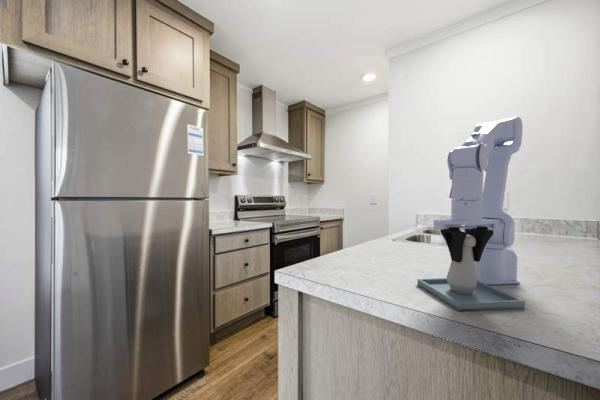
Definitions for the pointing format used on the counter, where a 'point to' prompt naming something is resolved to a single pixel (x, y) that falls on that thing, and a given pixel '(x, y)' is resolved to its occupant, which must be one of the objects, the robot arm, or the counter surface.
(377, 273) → the counter surface
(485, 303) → the tray
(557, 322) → the counter surface
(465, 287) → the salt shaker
